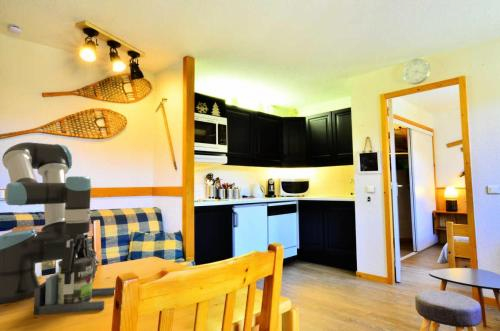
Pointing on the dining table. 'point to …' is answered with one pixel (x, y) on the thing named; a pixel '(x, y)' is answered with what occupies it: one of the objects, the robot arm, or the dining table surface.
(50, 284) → the pusher plate
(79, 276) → the coffee can
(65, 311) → the lane
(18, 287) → the robot arm
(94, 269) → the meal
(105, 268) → the dining table surface
